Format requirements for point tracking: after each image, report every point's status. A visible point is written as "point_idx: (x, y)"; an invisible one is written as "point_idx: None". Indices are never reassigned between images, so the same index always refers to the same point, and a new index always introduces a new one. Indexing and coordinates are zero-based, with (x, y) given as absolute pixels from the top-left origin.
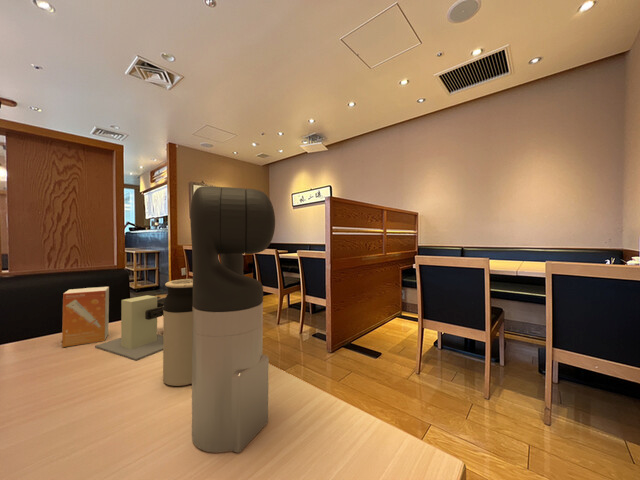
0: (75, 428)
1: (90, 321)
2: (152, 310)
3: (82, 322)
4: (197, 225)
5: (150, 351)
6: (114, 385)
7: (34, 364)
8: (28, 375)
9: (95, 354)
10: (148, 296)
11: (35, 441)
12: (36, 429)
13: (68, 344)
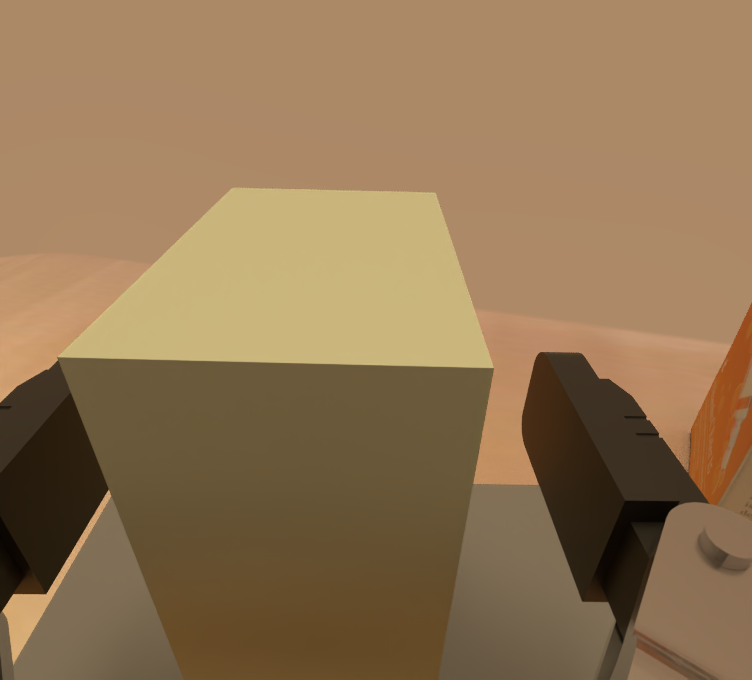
0: (24, 291)
1: (743, 389)
2: (50, 385)
3: (743, 365)
4: None
5: (99, 574)
6: None
7: (526, 349)
8: None
9: None
10: (316, 321)
11: (79, 270)
12: (113, 277)
13: (694, 435)
